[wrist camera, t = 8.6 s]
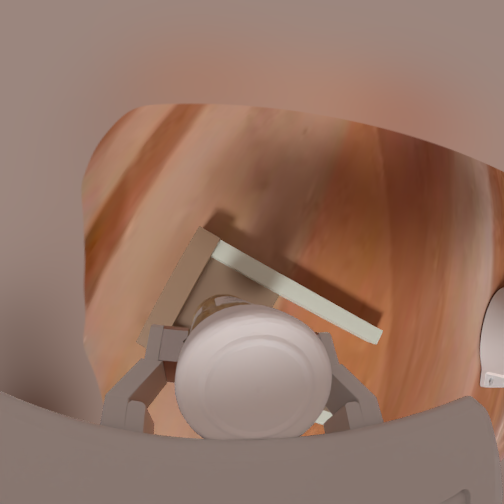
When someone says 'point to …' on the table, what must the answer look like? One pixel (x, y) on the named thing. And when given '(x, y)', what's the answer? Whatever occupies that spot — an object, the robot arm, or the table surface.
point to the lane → (239, 290)
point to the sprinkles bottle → (250, 372)
